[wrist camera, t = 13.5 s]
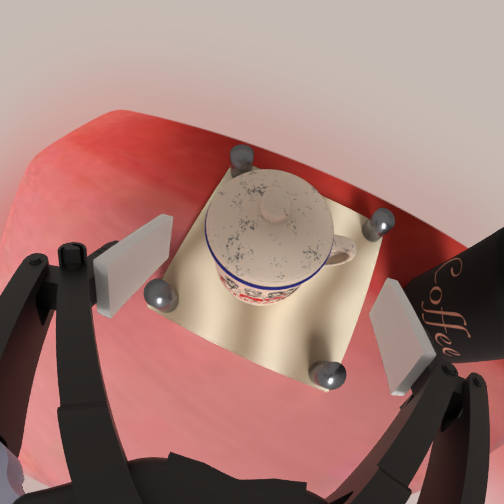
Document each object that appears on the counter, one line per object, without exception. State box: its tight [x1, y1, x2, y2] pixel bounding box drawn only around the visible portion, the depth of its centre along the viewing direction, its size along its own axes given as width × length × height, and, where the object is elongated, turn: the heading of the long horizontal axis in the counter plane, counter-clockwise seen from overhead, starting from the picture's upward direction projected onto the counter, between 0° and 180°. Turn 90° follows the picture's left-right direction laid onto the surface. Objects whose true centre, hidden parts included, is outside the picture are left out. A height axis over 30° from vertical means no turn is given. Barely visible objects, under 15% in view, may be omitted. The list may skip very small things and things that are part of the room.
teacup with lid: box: [205, 169, 356, 306], centre depth 22 cm, size 12×9×12 cm
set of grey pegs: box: [144, 145, 395, 390], centre depth 26 cm, size 18×18×4 cm
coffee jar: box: [403, 227, 504, 363], centre depth 19 cm, size 11×11×18 cm
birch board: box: [147, 166, 383, 392], centre depth 28 cm, size 19×19×2 cm
